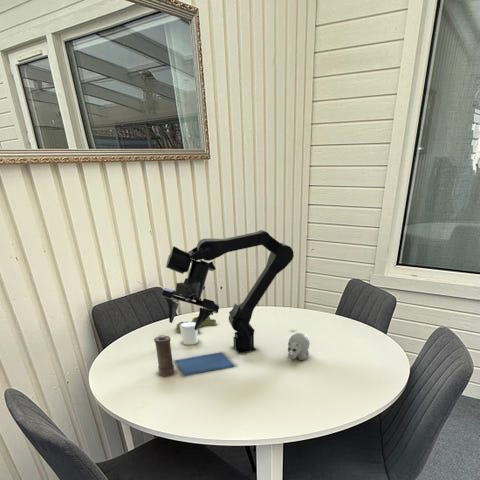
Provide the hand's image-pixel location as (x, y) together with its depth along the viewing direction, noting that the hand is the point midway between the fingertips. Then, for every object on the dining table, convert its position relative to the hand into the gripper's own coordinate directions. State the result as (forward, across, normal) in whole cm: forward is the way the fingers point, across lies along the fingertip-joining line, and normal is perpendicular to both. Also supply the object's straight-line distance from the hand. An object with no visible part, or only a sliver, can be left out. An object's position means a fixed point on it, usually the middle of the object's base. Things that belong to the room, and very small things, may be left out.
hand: (182, 326), depth 135 cm
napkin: (+10, +9, +6) cm, 14 cm away
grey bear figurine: (-1, +37, +15) cm, 40 cm away
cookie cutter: (-4, -12, +37) cm, 39 cm away
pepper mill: (+16, 0, -2) cm, 16 cm away
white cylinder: (+3, -6, +22) cm, 23 cm away
